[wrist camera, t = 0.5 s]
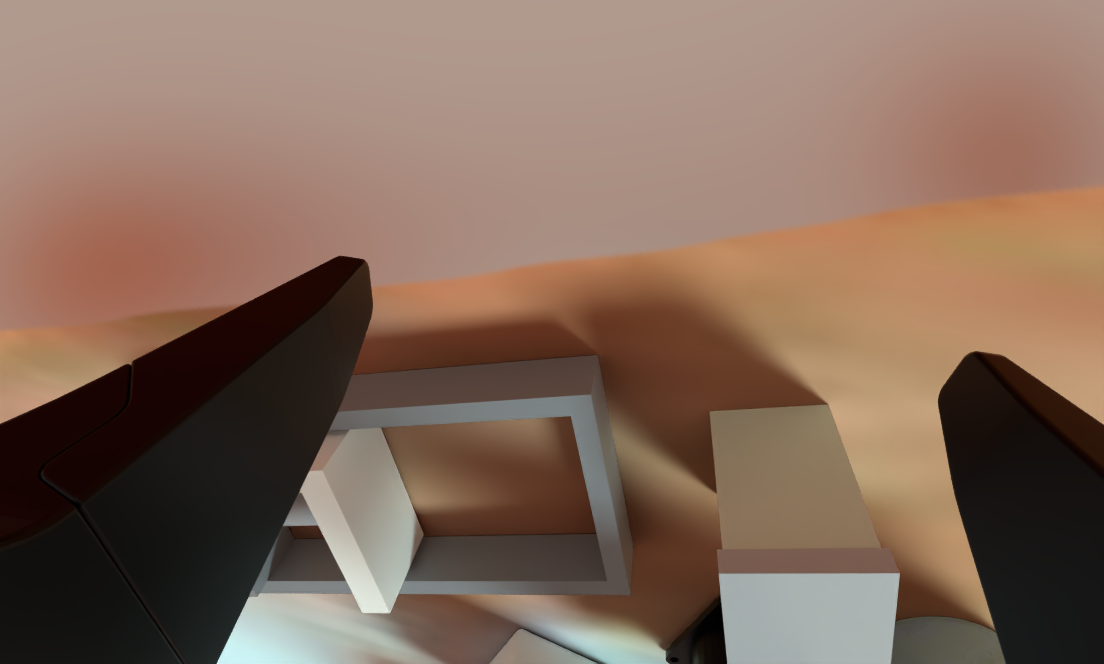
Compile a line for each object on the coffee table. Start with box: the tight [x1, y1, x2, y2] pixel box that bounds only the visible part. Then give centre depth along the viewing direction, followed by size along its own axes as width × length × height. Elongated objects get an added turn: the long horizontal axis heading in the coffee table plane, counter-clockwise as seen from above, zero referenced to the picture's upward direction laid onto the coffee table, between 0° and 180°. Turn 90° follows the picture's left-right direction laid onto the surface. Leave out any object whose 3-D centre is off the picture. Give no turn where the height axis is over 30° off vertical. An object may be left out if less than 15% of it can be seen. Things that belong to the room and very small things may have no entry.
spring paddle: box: [283, 428, 424, 613], centre depth 32 cm, size 8×9×5 cm
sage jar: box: [709, 404, 900, 664], centre depth 25 cm, size 5×5×9 cm
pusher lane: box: [249, 355, 633, 597], centre depth 31 cm, size 21×12×4 cm, turn 101°
